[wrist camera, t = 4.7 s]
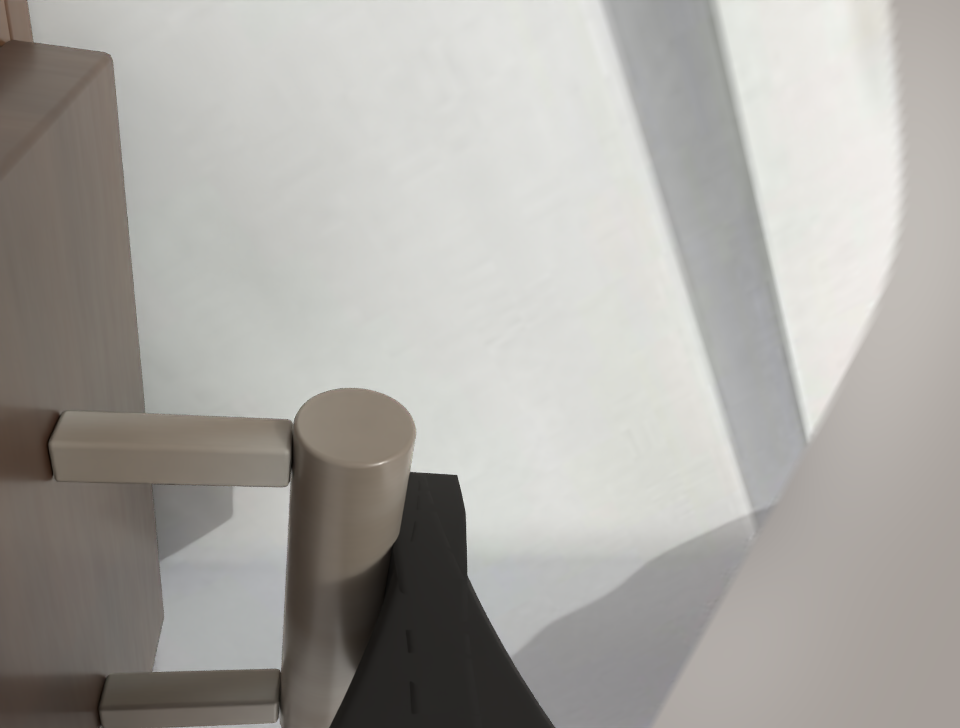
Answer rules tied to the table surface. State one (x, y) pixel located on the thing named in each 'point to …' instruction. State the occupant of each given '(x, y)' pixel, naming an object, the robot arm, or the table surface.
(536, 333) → the table surface
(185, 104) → the table surface
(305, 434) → the drawer
